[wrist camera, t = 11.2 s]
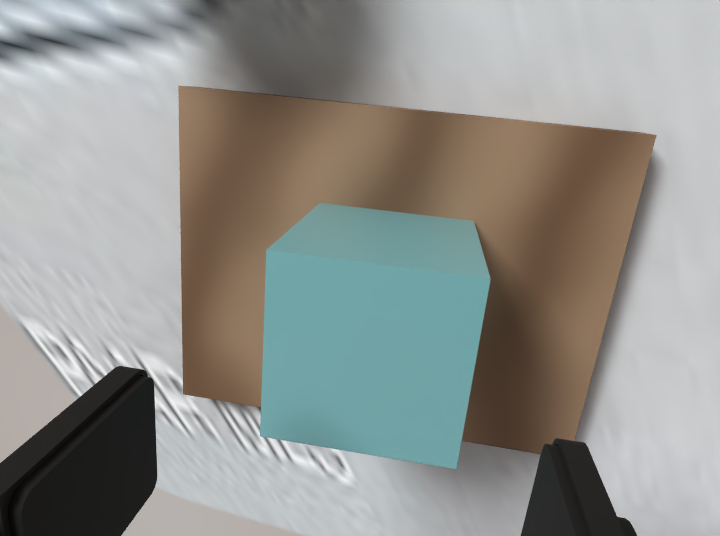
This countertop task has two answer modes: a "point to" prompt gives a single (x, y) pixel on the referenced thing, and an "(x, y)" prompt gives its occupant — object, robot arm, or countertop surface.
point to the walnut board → (423, 197)
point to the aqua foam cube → (373, 332)
